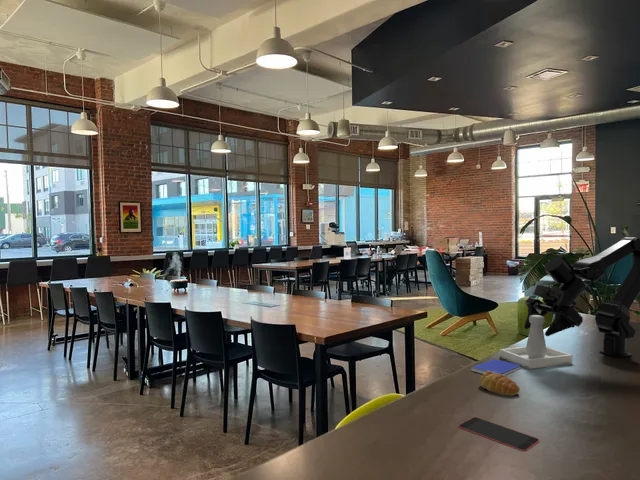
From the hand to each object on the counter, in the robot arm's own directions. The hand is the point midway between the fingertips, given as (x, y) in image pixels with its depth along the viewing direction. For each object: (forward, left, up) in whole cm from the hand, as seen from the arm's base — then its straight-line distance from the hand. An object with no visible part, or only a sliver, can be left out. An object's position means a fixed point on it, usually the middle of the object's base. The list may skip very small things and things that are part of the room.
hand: (535, 331), depth 138 cm
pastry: (+27, +16, -9) cm, 33 cm away
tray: (0, 0, -9) cm, 9 cm away
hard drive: (+17, +3, -9) cm, 20 cm away
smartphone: (+44, +36, -9) cm, 57 cm away
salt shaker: (0, 0, -8) cm, 8 cm away
